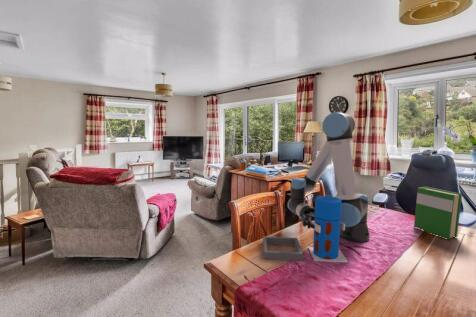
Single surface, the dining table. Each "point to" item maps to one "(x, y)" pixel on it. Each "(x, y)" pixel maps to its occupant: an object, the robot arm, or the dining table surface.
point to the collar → (281, 254)
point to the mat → (339, 259)
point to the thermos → (327, 227)
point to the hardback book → (438, 211)
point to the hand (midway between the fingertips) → (332, 228)
